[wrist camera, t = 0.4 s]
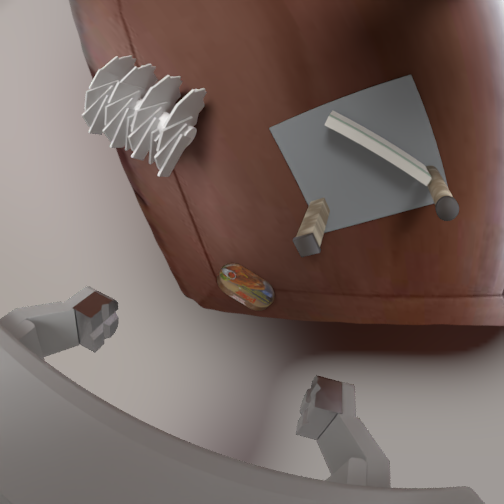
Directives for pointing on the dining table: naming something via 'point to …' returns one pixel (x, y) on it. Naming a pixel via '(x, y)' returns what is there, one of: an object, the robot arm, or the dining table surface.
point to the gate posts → (319, 211)
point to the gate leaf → (378, 146)
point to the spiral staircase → (142, 112)
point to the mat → (361, 154)
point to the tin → (245, 286)
